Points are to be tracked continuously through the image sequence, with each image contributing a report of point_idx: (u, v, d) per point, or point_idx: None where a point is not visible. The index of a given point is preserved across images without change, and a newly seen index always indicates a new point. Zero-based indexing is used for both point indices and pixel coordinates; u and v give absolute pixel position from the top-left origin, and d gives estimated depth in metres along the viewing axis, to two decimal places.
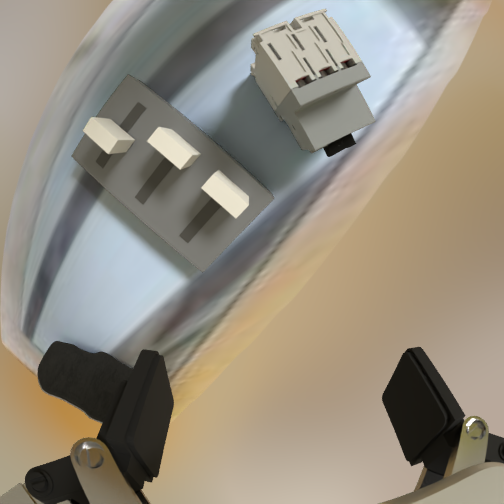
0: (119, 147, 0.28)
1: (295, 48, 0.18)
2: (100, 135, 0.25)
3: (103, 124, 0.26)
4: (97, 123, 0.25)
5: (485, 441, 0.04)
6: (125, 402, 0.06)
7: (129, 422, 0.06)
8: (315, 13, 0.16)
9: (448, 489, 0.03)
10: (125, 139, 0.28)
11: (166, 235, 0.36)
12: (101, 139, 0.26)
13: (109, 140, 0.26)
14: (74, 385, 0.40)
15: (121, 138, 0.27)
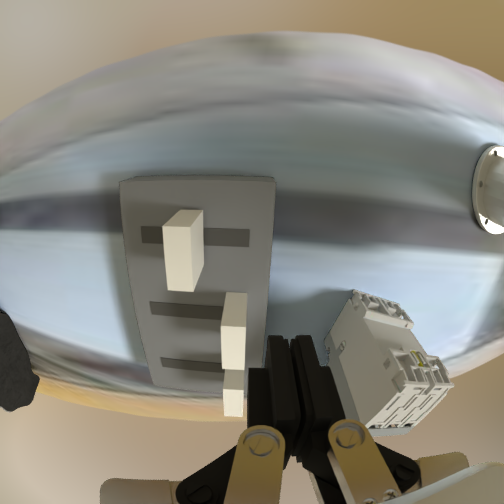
0: None
1: (402, 406, 0.18)
2: (178, 262, 0.19)
3: (193, 245, 0.20)
4: (189, 245, 0.19)
5: (369, 439, 0.06)
6: (279, 383, 0.07)
7: (292, 399, 0.07)
8: (446, 387, 0.18)
9: (448, 489, 0.03)
10: (198, 276, 0.22)
11: (149, 348, 0.29)
12: (175, 267, 0.19)
13: (183, 280, 0.20)
14: None
15: (196, 278, 0.21)
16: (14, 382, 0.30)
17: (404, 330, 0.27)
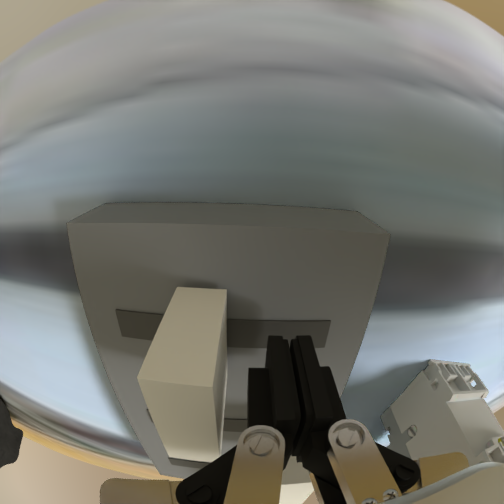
0: None
1: None
2: (187, 433, 0.07)
3: (217, 399, 0.08)
4: (210, 414, 0.07)
5: (369, 439, 0.06)
6: (279, 383, 0.07)
7: (292, 399, 0.07)
8: None
9: (448, 489, 0.03)
10: (223, 417, 0.10)
11: (151, 448, 0.17)
12: (180, 438, 0.07)
13: (199, 452, 0.08)
14: None
15: (221, 430, 0.09)
16: None
17: (480, 402, 0.15)
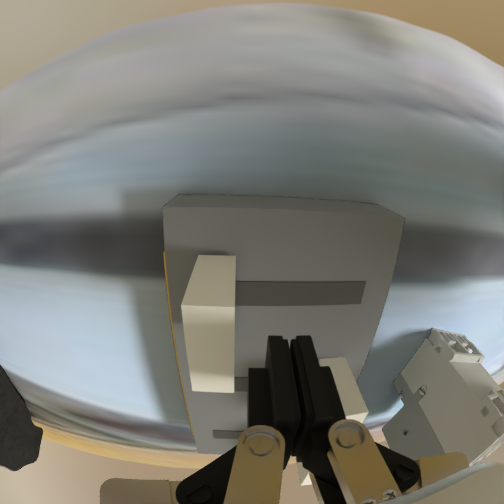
0: None
1: (491, 446, 0.11)
2: (211, 358, 0.11)
3: None
4: (230, 334, 0.10)
5: (369, 439, 0.06)
6: (279, 383, 0.07)
7: (292, 399, 0.07)
8: None
9: (448, 489, 0.03)
10: None
11: (198, 422, 0.21)
12: (205, 365, 0.11)
13: (218, 380, 0.11)
14: None
15: None
16: (14, 439, 0.20)
17: (477, 365, 0.20)
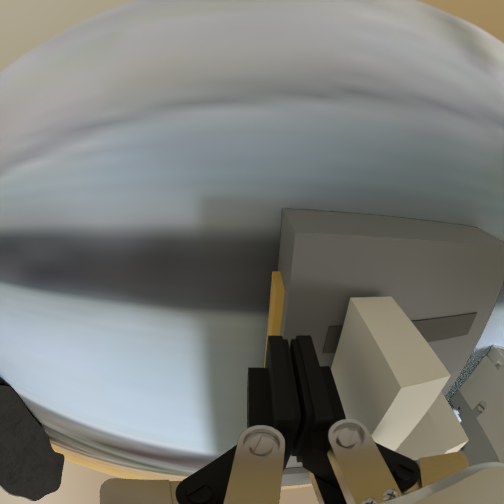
0: None
1: None
2: (395, 430, 0.07)
3: None
4: (430, 403, 0.06)
5: (369, 439, 0.06)
6: (279, 383, 0.07)
7: (292, 399, 0.07)
8: None
9: (448, 489, 0.03)
10: None
11: None
12: (384, 438, 0.07)
13: (386, 447, 0.07)
14: None
15: None
16: (34, 468, 0.18)
17: None
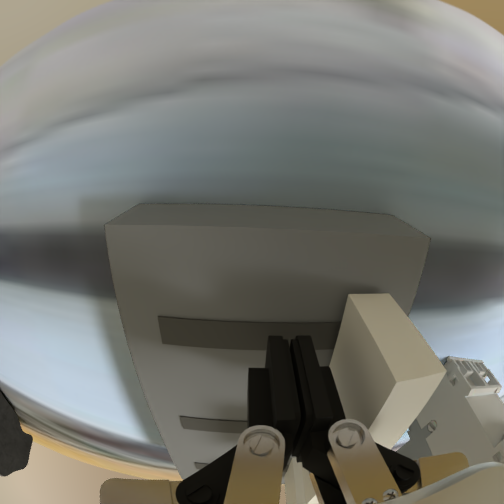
0: None
1: None
2: (392, 426, 0.07)
3: None
4: (426, 398, 0.07)
5: (369, 439, 0.06)
6: (279, 383, 0.07)
7: (292, 399, 0.07)
8: None
9: (448, 489, 0.03)
10: None
11: (178, 454, 0.17)
12: (381, 433, 0.07)
13: (383, 443, 0.08)
14: None
15: None
16: (4, 445, 0.18)
17: (494, 397, 0.15)
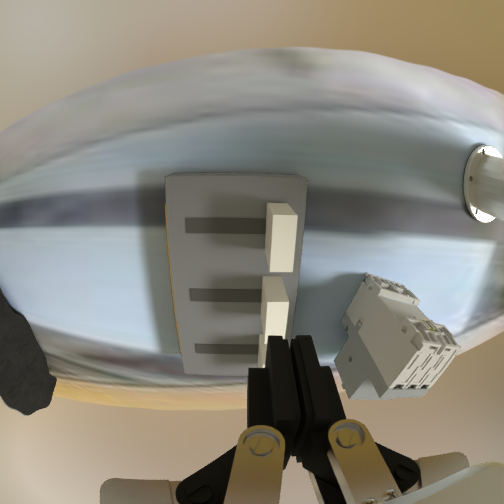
0: None
1: (420, 365, 0.22)
2: (283, 246, 0.23)
3: None
4: (294, 231, 0.22)
5: (369, 439, 0.06)
6: (279, 383, 0.07)
7: (292, 399, 0.07)
8: (454, 348, 0.22)
9: (448, 489, 0.03)
10: None
11: (184, 335, 0.32)
12: (280, 251, 0.23)
13: (285, 262, 0.23)
14: None
15: None
16: (31, 384, 0.32)
17: (412, 306, 0.31)
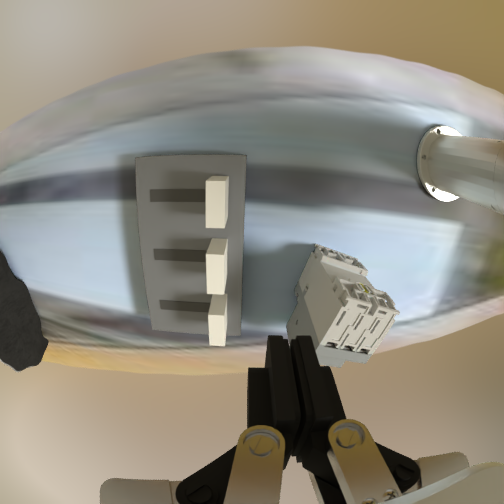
0: None
1: (352, 324, 0.27)
2: (215, 206, 0.28)
3: (225, 195, 0.28)
4: (223, 193, 0.27)
5: (369, 439, 0.06)
6: (279, 383, 0.07)
7: (292, 399, 0.07)
8: (391, 312, 0.27)
9: (448, 489, 0.03)
10: (225, 221, 0.31)
11: (150, 291, 0.38)
12: (212, 210, 0.28)
13: (217, 219, 0.28)
14: None
15: (225, 221, 0.30)
16: (25, 343, 0.38)
17: (359, 275, 0.36)
